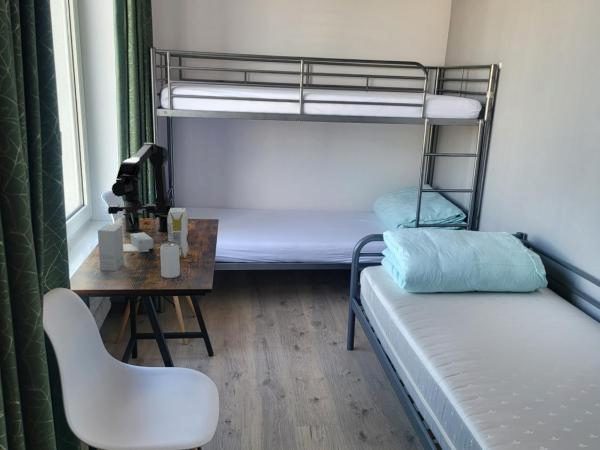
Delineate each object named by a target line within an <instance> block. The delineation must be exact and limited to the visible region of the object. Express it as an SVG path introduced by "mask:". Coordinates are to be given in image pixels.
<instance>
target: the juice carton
mask: <svg viewBox="0 0 600 450" xmlns="http://www.w3.org/2000/svg"><path fill="white" fill-rule="evenodd" d="M188 218H189V217H188V212H187V208H186V207H173V208H170V211H169V213H168V218H167V224H168V231H167V242H168V241H173V242H177V243H178V244H177V245H178V246H179V259H185V258H187V255H188V252H189V219H188Z"/></svg>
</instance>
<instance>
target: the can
mask: <svg viewBox="0 0 600 450" xmlns="http://www.w3.org/2000/svg"><path fill="white" fill-rule="evenodd" d="M177 244H178V243H177V242H173V241H168V240H167V241H164V242H162V243H161V245H160V249H159V250H160V251H159V252H160V271H161V273H160V274H161V277H162V278H165V279H174V278H175V279H176V278H178V277H179V276H180V273H181V271H180V270H181V267H180V258H179V246H178V245H177Z"/></svg>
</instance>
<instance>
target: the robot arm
mask: <svg viewBox="0 0 600 450" xmlns="http://www.w3.org/2000/svg"><path fill="white" fill-rule="evenodd" d="M168 158H169V150H168V149H167V148H166V147H164V146H161V145H158V144H156V143H153V142H144V143H143V144H142V146H141V148H139V149H138V151H137V152H136V153H135V154H134V155H133V156H132V157H130V158H126V159H125V160H123V161H122V162H121V163H120V166H119V169H118V172H117V175H116V179H115V182H114V183H113V184H112V186H111V192H112V194H113V195H114V196H116V197H124V203H123V204H124V205H123V206H120V204H109V206H108V208H107V214H109V215H116V214H118V213H119V212H123V214H122V215H123V216H124V217H125V216H127V218H128V219H129V221H130V224H131V226H132V228H133V229H135V226H136V223H137V219H138V217H139V215H140V216H142V215H143V212H145V211H146V212H147V214H153V216H154V218H158V225H159V226H158V228H157V229H158V232H168V224H167V218H168V213H169V211H170V208H174V207H173V206H172V201H171V200H170V198H169V197H168V189H167V178H166V168H165V167H166V164H167V162H168V160H169V159H168ZM147 160H148V161H149V163H150V165H152V167H153V172H154V173H153V175H154V186H155V196H156V197H155V199H154V201H153V202H152V203H146V205H144V204H143V201H142V200H141V199H140V184H139V181H140V180H141V177H140V174H141V173H142V171H143V165H144V164H145V163H146V162H147ZM132 213H134V223H133V216H132Z"/></svg>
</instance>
